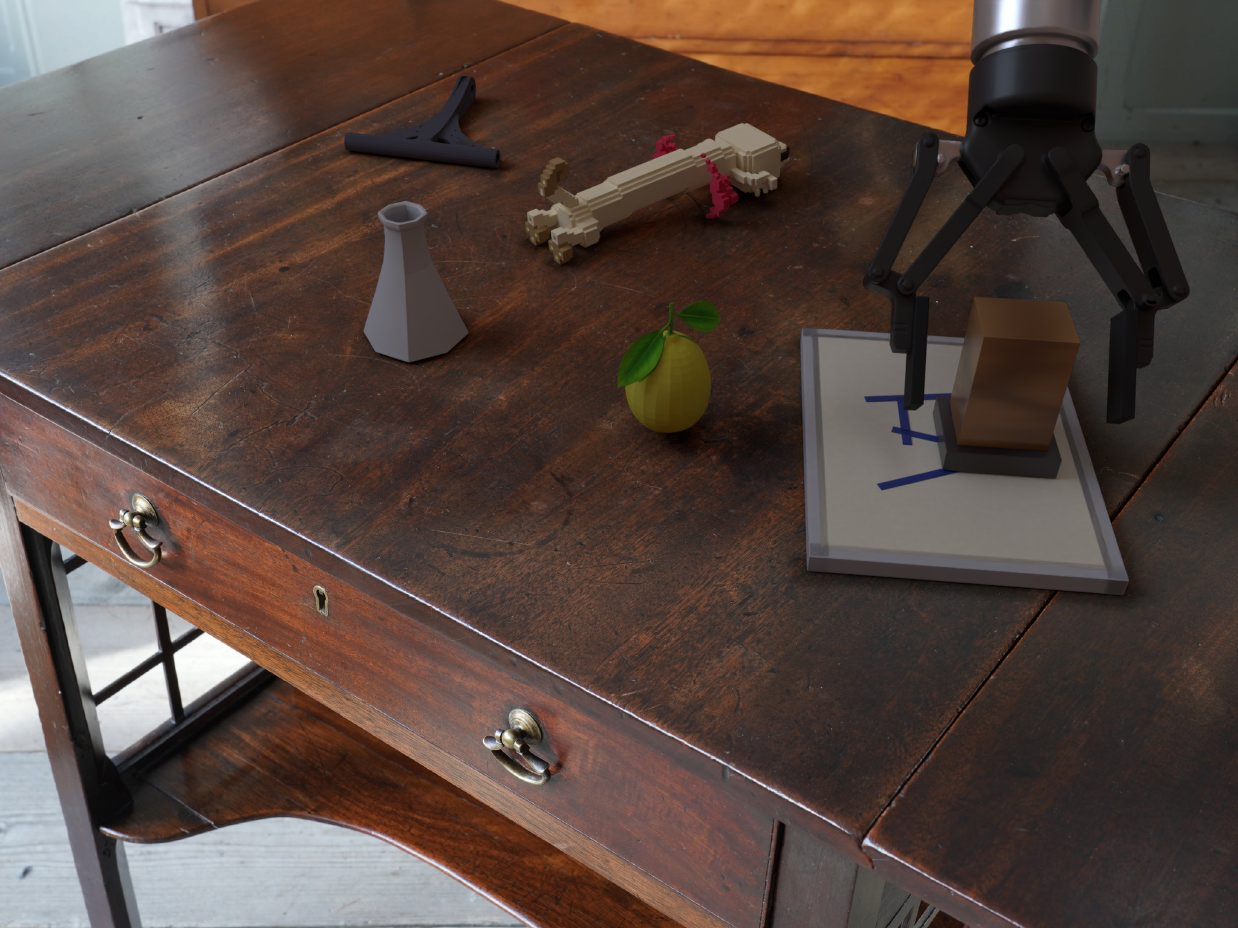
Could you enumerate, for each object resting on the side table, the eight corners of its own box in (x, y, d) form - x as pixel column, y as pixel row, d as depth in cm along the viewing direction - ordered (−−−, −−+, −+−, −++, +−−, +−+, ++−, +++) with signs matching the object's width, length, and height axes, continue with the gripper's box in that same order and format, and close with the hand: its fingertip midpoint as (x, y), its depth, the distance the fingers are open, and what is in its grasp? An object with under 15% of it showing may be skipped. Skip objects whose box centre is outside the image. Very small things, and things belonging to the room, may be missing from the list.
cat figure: (580, 292, 96) (818, 187, 106) (571, 194, 90) (824, 93, 100) (514, 240, 103) (745, 145, 112) (502, 145, 97) (747, 54, 106)
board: (1050, 357, 88) (1054, 342, 87) (1123, 595, 70) (1129, 579, 69) (800, 341, 89) (802, 326, 88) (806, 571, 71) (809, 555, 70)
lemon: (714, 402, 83) (724, 275, 77) (720, 457, 79) (730, 327, 72) (616, 401, 83) (618, 274, 77) (616, 456, 79) (618, 326, 72)
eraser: (1040, 421, 80) (1076, 296, 74) (1056, 479, 76) (1096, 350, 70) (932, 413, 81) (959, 288, 75) (942, 470, 76) (972, 342, 70)
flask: (346, 334, 89) (327, 211, 83) (425, 298, 93) (412, 177, 87) (406, 376, 85) (390, 250, 79) (486, 336, 89) (477, 213, 83)
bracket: (540, 105, 121) (539, 78, 119) (495, 171, 110) (493, 142, 108) (402, 92, 123) (399, 65, 121) (345, 154, 112) (341, 126, 110)
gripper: (1206, 98, 78) (1194, 435, 76) (831, 79, 80) (810, 409, 78) (1260, 47, 70) (1249, 419, 68) (845, 28, 72) (822, 391, 70)
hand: (1016, 414), depth 73 cm, fingers open, 11 cm apart
